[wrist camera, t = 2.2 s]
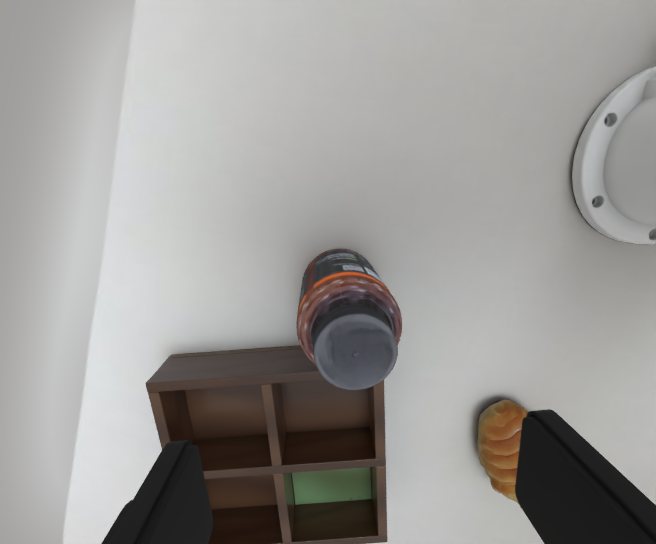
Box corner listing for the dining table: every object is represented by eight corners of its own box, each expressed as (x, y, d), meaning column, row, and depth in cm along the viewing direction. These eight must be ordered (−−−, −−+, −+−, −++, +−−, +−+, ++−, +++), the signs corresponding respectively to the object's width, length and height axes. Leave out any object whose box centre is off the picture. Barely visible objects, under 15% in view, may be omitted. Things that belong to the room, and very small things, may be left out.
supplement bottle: (320, 327, 26) (321, 426, 16) (290, 265, 25) (267, 325, 14) (386, 300, 26) (435, 383, 15) (359, 234, 24) (391, 273, 14)
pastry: (454, 413, 29) (474, 446, 25) (523, 382, 28) (554, 411, 25) (489, 483, 31) (512, 523, 28) (553, 456, 31) (586, 492, 27)
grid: (170, 354, 27) (145, 383, 23) (374, 339, 27) (383, 366, 23) (205, 510, 31) (188, 557, 27) (378, 497, 31) (387, 542, 27)
